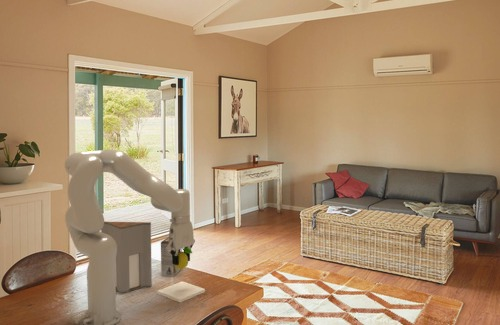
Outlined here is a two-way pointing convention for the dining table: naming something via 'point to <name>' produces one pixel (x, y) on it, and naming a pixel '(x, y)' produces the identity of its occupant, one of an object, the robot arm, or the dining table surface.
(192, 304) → the dining table surface
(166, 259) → the coffee box
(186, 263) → the lemon
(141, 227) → the cabinet
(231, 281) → the dining table surface
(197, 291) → the plate
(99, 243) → the robot arm
